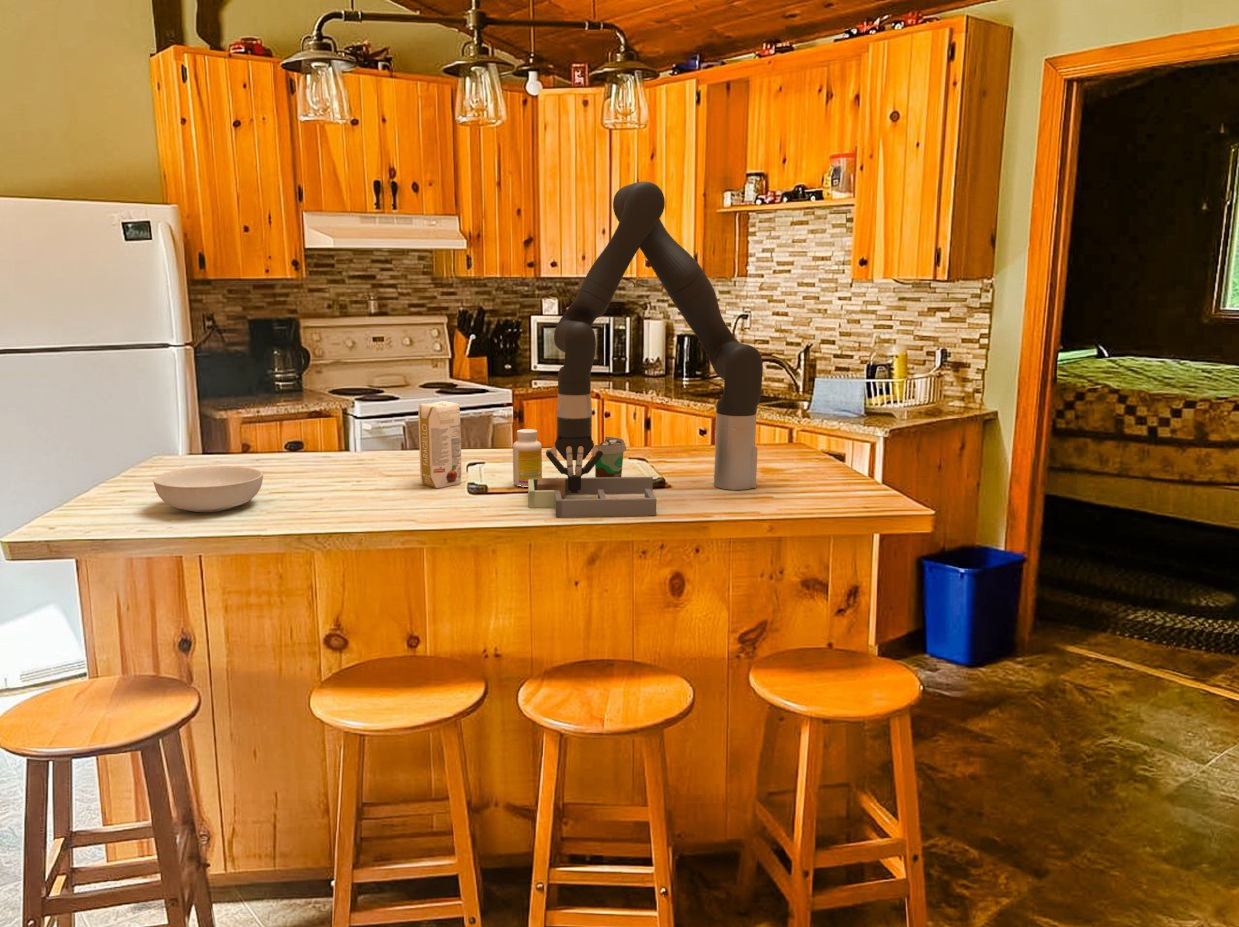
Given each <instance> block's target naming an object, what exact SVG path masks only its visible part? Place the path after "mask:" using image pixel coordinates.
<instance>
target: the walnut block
mask: <svg viewBox="0 0 1239 927" xmlns="http://www.w3.org/2000/svg"><path fill="white" fill-rule="evenodd" d="M565 478H566V477H542V478H538V483H537V490H560V493H561V498H562V499H566V494H565Z"/></svg>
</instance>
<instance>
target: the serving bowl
mask: <svg viewBox="0 0 1239 927" xmlns="http://www.w3.org/2000/svg"><path fill="white" fill-rule="evenodd" d="M263 479H264V473H263V472H262V471H261V470H260V469H256V468H253V467H248V466H237V465H235V466H233V465H214V466H213V465H211V466H209V465H208V466H195V467H188V468H183V469H177V470H170V471H167V472H165V473H162V474H158V475H157V476H156V477H154V478H153V485H154V488H155V491H156V494H157V496H158V497H159V498H160V499H161V500H162V501H163V502H164V503H165V504H167V505H168V506H171V507H172V508H176V509H179V510H185V511H189V512H192V513H193V512H194V513H195V512H196V513H215V512H222V511H223V512H224V511H227V510H229V509H232V508H235V507H237V506H240V505H244V504H245V503H247V502H249V501H251V500H252V499H254V498H255V497H256V496H257V494H258V493H259V492H260V490H261V487H262V485H263Z"/></svg>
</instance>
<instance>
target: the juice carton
mask: <svg viewBox="0 0 1239 927" xmlns="http://www.w3.org/2000/svg"><path fill="white" fill-rule="evenodd" d="M460 410H461V409H460V404H459V403H457V402H452V401H445V400H440V401H436V402H432V403H427V402H426V403H418V415H417V417H418V420H417V421H418V439H419V440H418V443H419V445H418V446H419V474H420V481H421V484H422V485H424V486H428V487H431V488H435V489H441V488H447V487H450V486H455V485H456V486H457V485H460V484H461V483H462V440H461V439H462V438H461V435H462V434H461V433H462V432H461V411H460Z"/></svg>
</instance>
